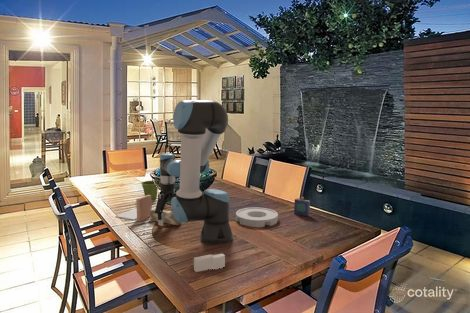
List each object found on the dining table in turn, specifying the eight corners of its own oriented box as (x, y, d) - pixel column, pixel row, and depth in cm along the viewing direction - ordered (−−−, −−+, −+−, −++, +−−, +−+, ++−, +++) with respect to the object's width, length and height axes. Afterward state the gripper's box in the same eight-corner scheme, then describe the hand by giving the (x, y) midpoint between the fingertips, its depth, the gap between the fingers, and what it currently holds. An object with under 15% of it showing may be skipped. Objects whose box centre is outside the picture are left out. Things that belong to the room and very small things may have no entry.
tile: (151, 215, 199) (151, 195, 198) (140, 220, 190) (139, 199, 189) (148, 215, 200) (148, 194, 199) (136, 220, 191) (136, 198, 190)
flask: (310, 215, 202) (310, 197, 201) (308, 216, 200) (309, 198, 198) (294, 213, 207) (295, 195, 205) (293, 214, 204) (293, 196, 203)
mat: (152, 212, 205) (152, 211, 205) (133, 220, 191) (133, 219, 191) (134, 209, 211) (134, 208, 211) (115, 216, 196) (115, 215, 196)
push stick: (180, 223, 187) (180, 212, 186) (177, 225, 184) (177, 214, 183) (153, 218, 195) (153, 208, 194) (150, 220, 192) (150, 209, 191)
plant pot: (145, 196, 241) (145, 180, 239) (162, 197, 239) (161, 180, 237) (138, 200, 229) (138, 184, 228) (156, 201, 228) (155, 184, 226)
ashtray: (272, 230, 179) (272, 222, 179) (229, 224, 187) (229, 217, 186) (281, 216, 201) (281, 209, 201) (243, 212, 209) (243, 205, 208)
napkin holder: (187, 274, 132) (187, 260, 131) (196, 261, 143) (196, 248, 142) (226, 279, 129) (226, 264, 128) (232, 265, 140) (233, 251, 139)
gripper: (175, 177, 198) (175, 214, 201) (146, 186, 176) (148, 227, 179) (186, 179, 195) (186, 216, 198) (159, 188, 173) (160, 230, 176)
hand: (168, 221), depth 189 cm, fingers open, 12 cm apart
